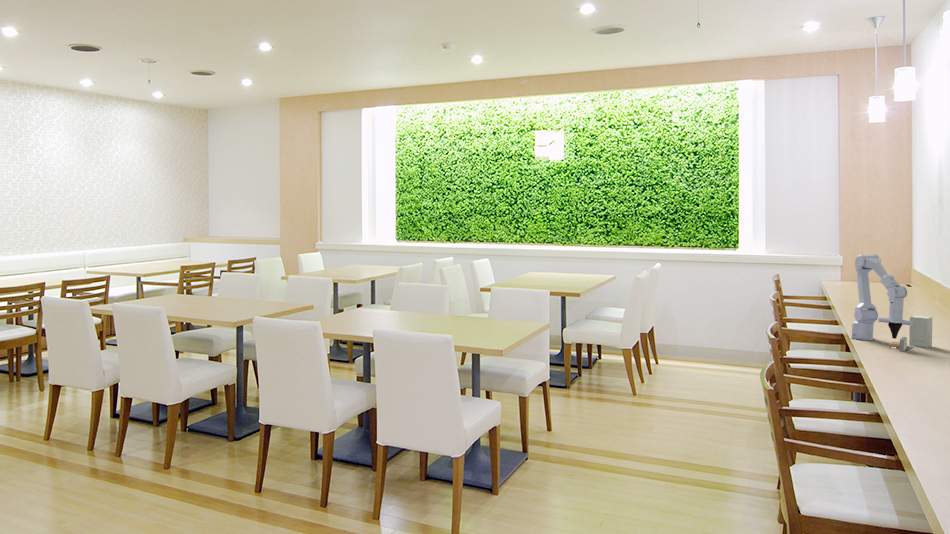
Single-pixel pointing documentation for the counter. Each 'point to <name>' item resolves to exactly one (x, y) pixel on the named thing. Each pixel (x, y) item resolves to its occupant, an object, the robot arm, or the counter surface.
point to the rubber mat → (907, 348)
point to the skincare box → (921, 331)
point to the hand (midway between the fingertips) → (894, 338)
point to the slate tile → (903, 344)
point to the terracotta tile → (895, 344)
